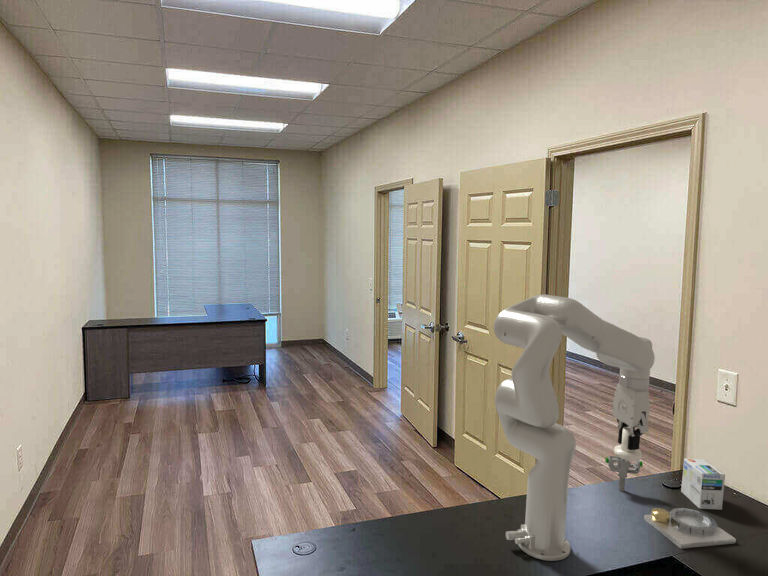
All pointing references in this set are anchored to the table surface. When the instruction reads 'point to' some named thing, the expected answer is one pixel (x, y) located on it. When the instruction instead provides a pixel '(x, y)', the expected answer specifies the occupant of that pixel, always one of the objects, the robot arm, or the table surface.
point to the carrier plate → (688, 527)
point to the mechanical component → (622, 468)
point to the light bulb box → (703, 484)
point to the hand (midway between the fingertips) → (628, 445)
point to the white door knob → (623, 449)
